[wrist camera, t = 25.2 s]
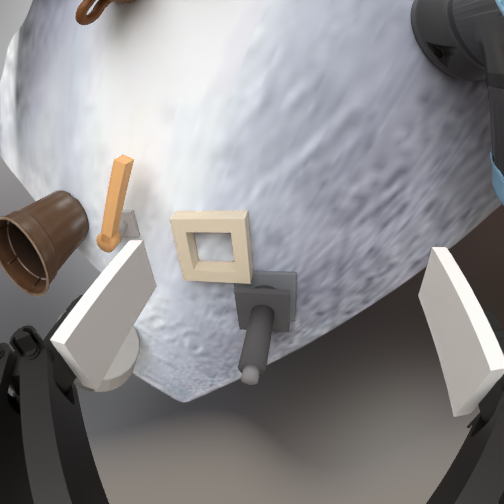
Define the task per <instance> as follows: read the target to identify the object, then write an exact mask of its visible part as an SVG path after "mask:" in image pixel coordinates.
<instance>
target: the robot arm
mask: <svg viewBox="0 0 504 504" xmlns="http://www.w3.org/2000/svg"><path fill="white" fill-rule="evenodd" d="M411 23H412V28H413V32H414V35H415V37H416V40H417V42H418V44H419V46H420V47H421V49H422V51H423V52H424V53H425V55H426V56H427V57H428V59H429V60H430V61H431V62H432V63H433V64H434V65H435V66H436V67H438V68H439V69H440V70H442V71H443V72H445V73H446V74H448V75H450V76H452V77H455V78H458V79H462V80H469V81H479V80H484V79H487V86H488V96H489V107H490V123H491V150H490V160H491V163H492V185H493V189H494V191H495V193H496V195H497V197H498V199H499V201H500V202H501V203H502V205H503V206H504V0H414V3H413V5H412V10H411ZM156 287H157V286H156V283H155V280H154V276H153V273H152V270H151V267H150V263H149V260H148V256H147V253H146V249H145V246H144V242H143V240H130V241H129V242H128V243H127V244H126V245H125V246H124V247H123V248H122V250H121V251H120V252H119V253H118V254H117V255H116V257H115V258H114V259H113V260H112V261H111V262H110V264H109V265H108V266H107V267H106V268H105V269H104V271H103V272H102V273H101V274H100V275H99V277H98V278H97V279H96V280H95V282H94V283H93V284H92V285H91V286H90V288H89V289H88V290H87V291H86V293H85V294H84V295H81V296H79V297H78V298H77V299H75V300H74V301H73V302H72V303H71V304H70V306H69V307H68V308H67V309H66V312H64V313H63V315H62V316H61V318H60V319H59V320H58V321H57V322H56V324H55V325H54V327H53V328H52V329H51V331H50V332H49V333H48V335H47V336H46V337H45V339H44V340H42V339H41V337H40V336H39V334H38V333H37V331H36V329H35V328H34V327H33V326H23V327H22V328H20V329H18V330H17V331H16V332H15V333H14V334H13V336H12V337H11V339H10V342H9V343H10V344H11V346H12V347H13V349H14V350H15V351H13V350H12V349H11V347H10V346H9V345H8V344H7V343H1V344H0V504H109V502H108V499H107V497H106V494H105V491H104V489H103V486H102V483H101V480H100V478H99V474H98V471H97V468H96V466H95V462H94V459H93V456H92V452H91V449H90V445H89V441H88V437H87V434H86V430H85V426H84V422H83V417H82V413H81V408H80V404H79V398H78V393H77V389H76V386H75V384H74V383H73V382H74V380H75V379H76V377H77V379H78V380H79V381H80V382H81V384H82V385H83V386H85V387H88V388H91V389H94V390H98V388H99V386H100V384H101V382H102V381H103V379H104V377H105V375H106V373H107V371H108V369H109V368H110V366H111V364H112V362H113V360H114V359H115V357H116V355H117V353H118V351H119V350H120V348H121V346H122V344H123V342H124V341H125V339H126V337H127V335H128V334H129V332H130V330H131V328H132V327H133V325H134V323H135V322H136V320H137V318H138V316H139V315H140V313H141V311H142V310H143V308H144V306H145V305H146V303H147V301H148V300H149V298H150V296H151V295H152V293H153V291H154V290H155V288H156ZM418 297H419V299H420V302H421V305H422V307H423V310H424V313H425V315H426V319H427V322H428V325H429V328H430V330H431V334H432V337H433V340H434V343H435V346H436V349H437V353H438V356H439V360H440V363H441V367H442V370H443V374H444V378H445V381H446V385H447V389H448V393H449V397H450V402H451V406H452V410H453V416H454V417H455V416H460V415H466V414H470V413H471V412H472V411H473V410H474V409H475V408H476V407H477V406H478V405H479V409H480V413H479V414H478V415H477V416H476V417H475V418H474V419H473V420H472V422H470V424H469V425H468V426H467V427H468V428H470V427H471V426H472V428H471V430H470V432H469V434H468V436H467V438H466V440H465V441H464V443H463V445H462V447H461V449H460V451H459V453H458V454H457V456H456V458H455V460H454V461H453V463H452V465H451V467H450V468H449V470H448V472H447V473H446V475H445V476H444V478H443V479H442V481H441V483H440V484H439V486H438V487H437V489H436V490H435V492H434V493H433V495H432V496H431V498H430V499H429V501H428V502H427V503H426V504H497V503H498V504H504V332H503V331H502V330H503V329H502V327H501V325H500V323H499V321H498V319H497V318H496V317H495V316H494V315H493V314H492V313H491V312H490V311H483V310H482V308H481V306H480V304H479V302H478V300H477V298H476V297H475V295H474V293H473V291H472V289H471V288H470V286H469V284H468V282H467V280H466V279H465V277H464V275H463V273H462V272H461V270H460V268H459V267H458V265H457V263H456V262H455V260H454V259H453V257H452V255H451V254H450V252H449V251H448V249H447V248H446V247H432V250H431V254H430V258H429V261H428V265H427V268H426V272H425V275H424V279H423V282H422V285H421V289H420V292H419V295H418ZM9 387H10V388H11V389H12V390H13V392H14V393H13V396H10V395H9V393H8V388H9Z"/></svg>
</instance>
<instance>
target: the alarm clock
mask: <svg viewBox="0 0 504 504" xmlns="http://www.w3.org/2000/svg"><path fill="white" fill-rule="evenodd" d="M65 312H66V311H65ZM62 315H63V314H62ZM62 315H61V316H62ZM61 316H60V317H59V319H60V318H61ZM59 319H58V320H59ZM138 353H139V338H138V335H137V331H136V329H135V328H134V326H133V327H132V328H131V330H130V332H129V334H128V335H127V337H126V339H125V341H124V342H123V344H122V346H121V348H120V350H119V351H118V353H117V355H116V357H115V359H114V360H113V362H112V364H111V366H110V368H109V369H108V371H107V373H106V375H105V377H104V379H103V381H102V382H101V384H100V386H99V388H98V390H94V389H91V388H88V387H85V386H83V385H82V384H81V382H80V381H79V380H78V379H77V377H76V379H75V380H74V382H73V383H74V384H75V386H78V387H79V388H82V389H84V390H88V391H96V392H102V391H110V390H112V389H115V388H118V387H119V386H120V385H122V384H123V383H125V382H126V381H127V380H128V378H129V377H130V375H131V374H132V372H133V369H134V366H135V363H136V359H137V356H138Z"/></svg>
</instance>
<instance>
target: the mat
mask: <svg viewBox="0 0 504 504" xmlns="http://www.w3.org/2000/svg"><path fill="white" fill-rule="evenodd" d="M252 275H253V276H252V280H251V284H245V283H234V287H235V289H236V288H255V287H257V286H261V285H267V286H271V287H274V288H275V289H280V290H290V300H289V320H291V321H295V308H296V272H273V271H253V273H252Z"/></svg>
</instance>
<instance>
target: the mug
mask: <svg viewBox="0 0 504 504" xmlns="http://www.w3.org/2000/svg"><path fill="white" fill-rule="evenodd" d="M95 1H96V0H83V2H82V3H81V4H80V5H79V7H78V9H77V12H76V21H77V22H78V23H79V24H81V25H88V24H90V23H92V22H94V21H95V20H96V19H98V18H99V16H100V15H101V14H102V12H103V11H104V9H105V8H106V7H107V6H108V5H109V4H110V3H111V2H112V1H113V2H118V3H129V2H132V1H135V0H99V1H98V2H97V3H96V4H95V6H94V8H93V10H92V11H91V12H90V13H89V14H88V15H86V14H87V11H88V10H89V8H90V7H91V6H92V5H93V3H94V2H95Z"/></svg>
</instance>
